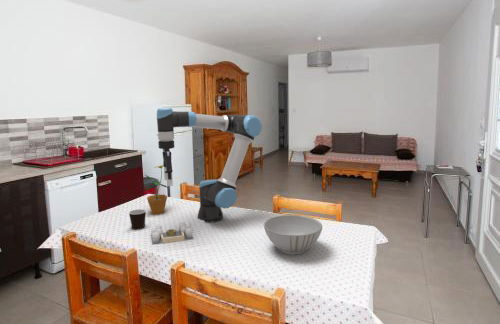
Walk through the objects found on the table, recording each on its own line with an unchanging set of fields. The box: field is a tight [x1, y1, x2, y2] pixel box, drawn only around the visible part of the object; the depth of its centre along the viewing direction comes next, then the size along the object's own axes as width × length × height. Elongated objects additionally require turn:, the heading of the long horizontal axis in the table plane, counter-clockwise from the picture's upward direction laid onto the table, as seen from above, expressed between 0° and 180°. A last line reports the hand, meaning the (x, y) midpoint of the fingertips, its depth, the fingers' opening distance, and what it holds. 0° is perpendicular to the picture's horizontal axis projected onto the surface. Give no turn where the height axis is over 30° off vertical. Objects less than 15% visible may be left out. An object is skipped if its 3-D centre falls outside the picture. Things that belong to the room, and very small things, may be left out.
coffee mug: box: [128, 208, 147, 231], centre depth 186 cm, size 12×9×10 cm
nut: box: [166, 228, 177, 236], centre depth 175 cm, size 4×5×2 cm
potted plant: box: [145, 164, 169, 215], centre depth 211 cm, size 18×19×30 cm
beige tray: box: [150, 222, 195, 246], centre depth 172 cm, size 20×14×6 cm
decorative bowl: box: [263, 214, 323, 255], centre depth 158 cm, size 27×27×12 cm
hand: (168, 182), depth 169 cm, fingers open, 13 cm apart
